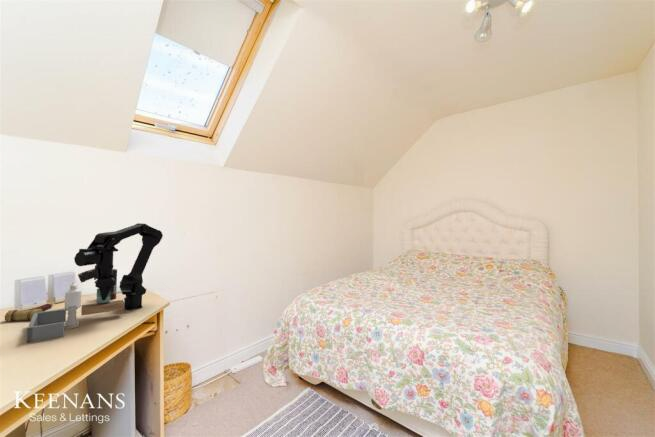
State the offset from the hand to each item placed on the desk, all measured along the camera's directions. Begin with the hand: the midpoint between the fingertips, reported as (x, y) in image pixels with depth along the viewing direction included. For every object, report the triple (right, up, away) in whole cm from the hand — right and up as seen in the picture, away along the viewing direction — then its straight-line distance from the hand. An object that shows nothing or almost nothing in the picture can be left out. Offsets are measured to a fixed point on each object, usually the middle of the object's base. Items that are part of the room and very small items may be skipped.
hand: (103, 299), depth 124 cm
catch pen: (-8, -8, -15) cm, 19 cm away
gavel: (-30, -7, +2) cm, 31 cm away
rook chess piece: (-4, -8, -11) cm, 14 cm away
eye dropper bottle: (-23, -7, +11) cm, 26 cm away
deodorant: (-17, -7, +26) cm, 32 cm away
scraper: (0, -5, -1) cm, 5 cm away
